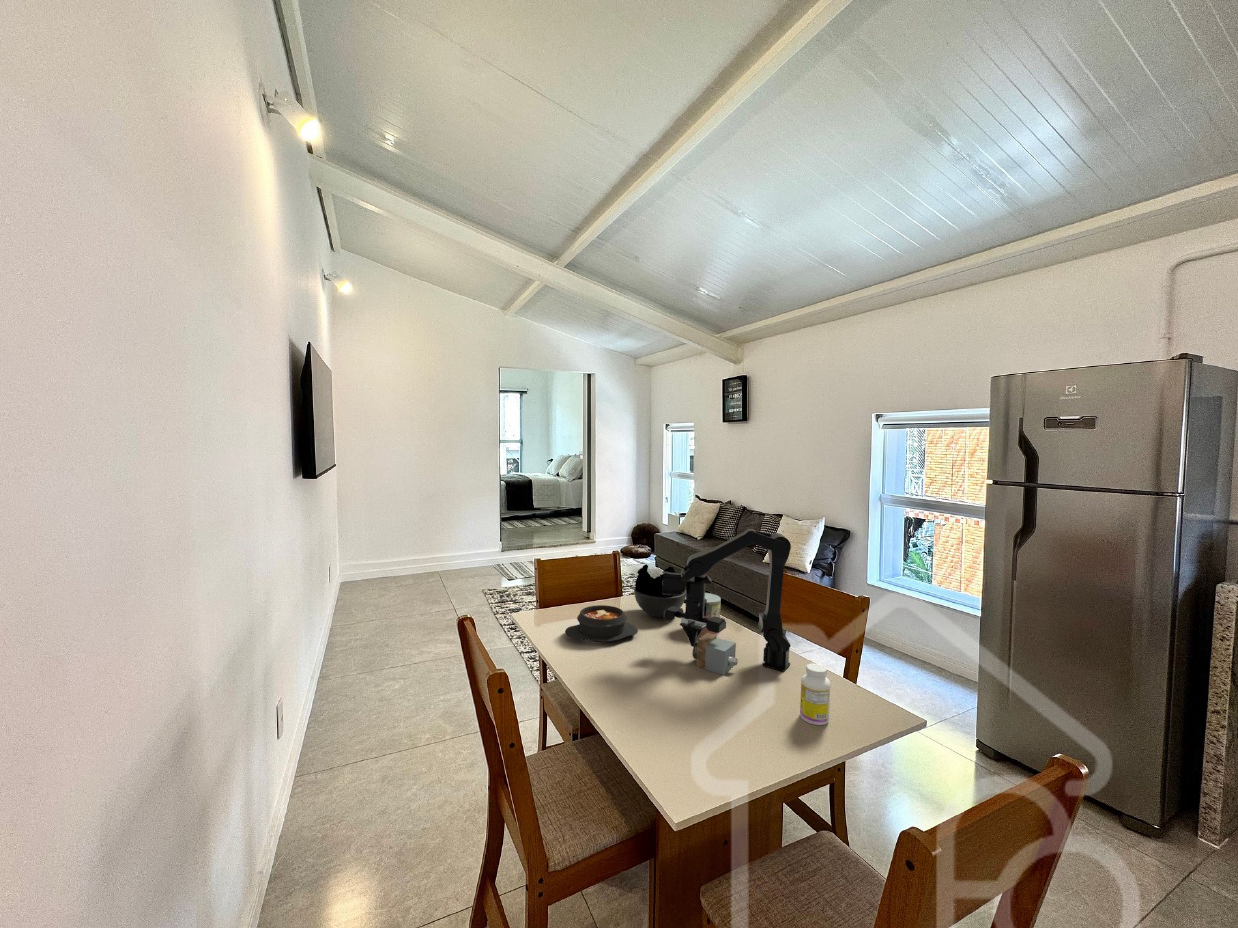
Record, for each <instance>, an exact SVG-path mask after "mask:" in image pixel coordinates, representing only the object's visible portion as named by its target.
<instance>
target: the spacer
mask: <svg viewBox="0 0 1238 928" xmlns="http://www.w3.org/2000/svg"><path fill="white" fill-rule="evenodd" d="M717 636H718V635H715V634H711V633H706V634H705V635H703V636H700V637H698V640H697V660H696V667H699V668H702V669H705V657H706V645H708V644H709V643H711V642H712V641H713V640H715V639H716V638H718V637H717Z"/></svg>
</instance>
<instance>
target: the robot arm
mask: <svg viewBox="0 0 1238 928" xmlns="http://www.w3.org/2000/svg"><path fill="white" fill-rule="evenodd" d="M751 545H754V546H758V547H760V548H763V549H765V550H767V555H768V560H769V571H768V580H767V581H768V582H767V595H766V606H765V609H764V612H758V617H759V621H758V623H757V626H758V628H759V630H760V632H761V634H762V636H763V639H764V640H765V642H766V643H765V647H764V648H763V656H762V657H763V658H762V659H763V663H762V666H763V667H766V668H769V669H773V670H777V671H781V672H786V670H787V669H788V668H789V667H790V665H791V662H789V661H790V660H789V659H790V648H791V643H790V641H789V640H788V637H787V636H786V634H785V633H784V630H783V629H784V628H783V620H782V615H781V607H782V598H783V597H782V595H783V584H784V576H785V575H784V574H785V566H786V563H787V562H788V560H789V557H790V552H791V549H792V544H791V542H790V541H789V539H788V538H787V537H785V535H783V534H781V533H778V532H774V533H772V534H771V533H767V532H764V531H759V530H755V529H754V528H753V529H752V528H747V529H746V530H744V531H742V532H741V533H740V534H737V535H735V536H734V537H731V538H730V539H728V540H726V541H724V542H722V543H721V544H719V545H717V546H715V547H713V548H711V549H708V550H702V551H699V552H696V553H693V554H691V555H690V556H688V558H687V562H686V565H685V566H684V567H683V568H682V569H681V570H680V573H679V572H676V573H670V572H664V574H663V573H662V574H663V583H662V594H665V595H679V596H680V594H682V592H684V586H685V590H686V598H685V600H684V603H683V605H684V604H685V606H684V608H685V609H683V608H682V607H681V608H679V607H675V606H672V607H670V608H668V609H666V610H665V612H664V617H663V619H664V620H668V621H674V620H675V618H678V619H680V623H679V626H680V627H682V629H683V630H684V632H685V635H686V636H687V639H688V641H689V644H690V646H691V647H692V648H693V647H694V645H695V643H696V642H697V640H698V639H699V638H700V636H699V635H700V633H701V631H702V630H703V629H705V628H707V629H708V631H711V632H715V633H719V632H720V633H721V632H722V631H724V630H725V629H727V621H726V620H725V618H722V617H720V618H719V617H715V616H714V617H712V618H710V619H708V618H704V616H707V615H708V614H709V615H711V612H712V607H713V605H711V604H707V600H706V599H705V593H706V585H708V584H709V585H711V584H712V583H713V582H712V579H711V578H710V577H709V576H708V574H707V573H708V571H709V572H710V570H712V569H713V568H714V566H715V565H716V564H717V563H719V562H720V561H722V560H724V559H726V558H728V557H730V556H733V554H736V553H738V552H739V551H741V550H744V549H745V548H747V547H749V546H751ZM684 610H685V611H684ZM720 633H719V634H720Z"/></svg>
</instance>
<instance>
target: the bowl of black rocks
mask: <svg viewBox="0 0 1238 928" xmlns="http://www.w3.org/2000/svg"><path fill="white" fill-rule="evenodd" d="M648 569H649V565H648V564H645V563H644V565H642V567H641V568H639V569H638V570H637V577H636V580H635V584H634V585H635V586H634V588H633V594H634V598H635V601H636V603H637V605H638V606H639V607H640V609H641V610H642V611H643V612H645V613H646V614H648V615H650V616H651V617H656V618H664V612H665V610H666V609H668V608H670V607H672V606H675V607H679V608H682V607H683V605H684V600H685V599H686V585H684V592H682V594H680V596H679V595H665V594H662V583H663V574H664V572H670V573H677V572H675V568H674V566H668V567H667V568H665V569H664V570H662V574H660V575H657V576H656V577H653V576H651V575H650V573H649V572H648Z"/></svg>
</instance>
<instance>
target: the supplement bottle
mask: <svg viewBox="0 0 1238 928" xmlns="http://www.w3.org/2000/svg"><path fill="white" fill-rule="evenodd" d="M805 667H806V668H805V672H806V674H804V675H802V677H801V679H800V681H801V683H800V685H801V686H800V703H799V704H800V706H799V715H800V718H801V719H802V720H803V721H805V722H806V723H808V724H810V725H814V726H825V725H827V724H828V723H829V721H830V709H831V707H830V705H831V703H830V702H831V701H830V700H831V681H830V680H829V678H827V672H828V669H827V667H825V666H824V665H822V664H818V663H808V664H806V666H805Z"/></svg>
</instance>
